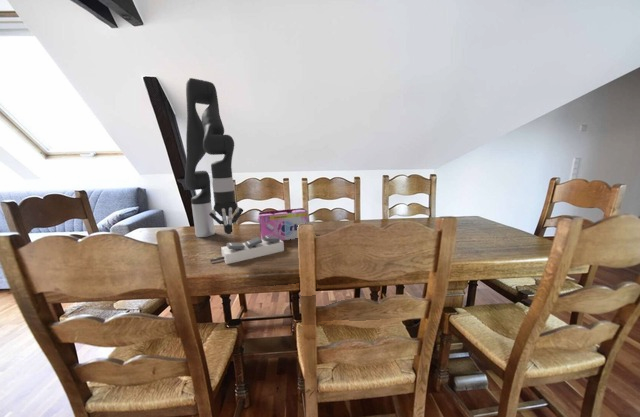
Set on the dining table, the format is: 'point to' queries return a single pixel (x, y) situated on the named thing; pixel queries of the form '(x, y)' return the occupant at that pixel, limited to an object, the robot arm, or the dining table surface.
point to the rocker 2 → (253, 242)
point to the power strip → (250, 251)
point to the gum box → (282, 222)
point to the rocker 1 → (235, 246)
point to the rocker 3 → (271, 238)
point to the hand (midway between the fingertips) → (228, 233)
